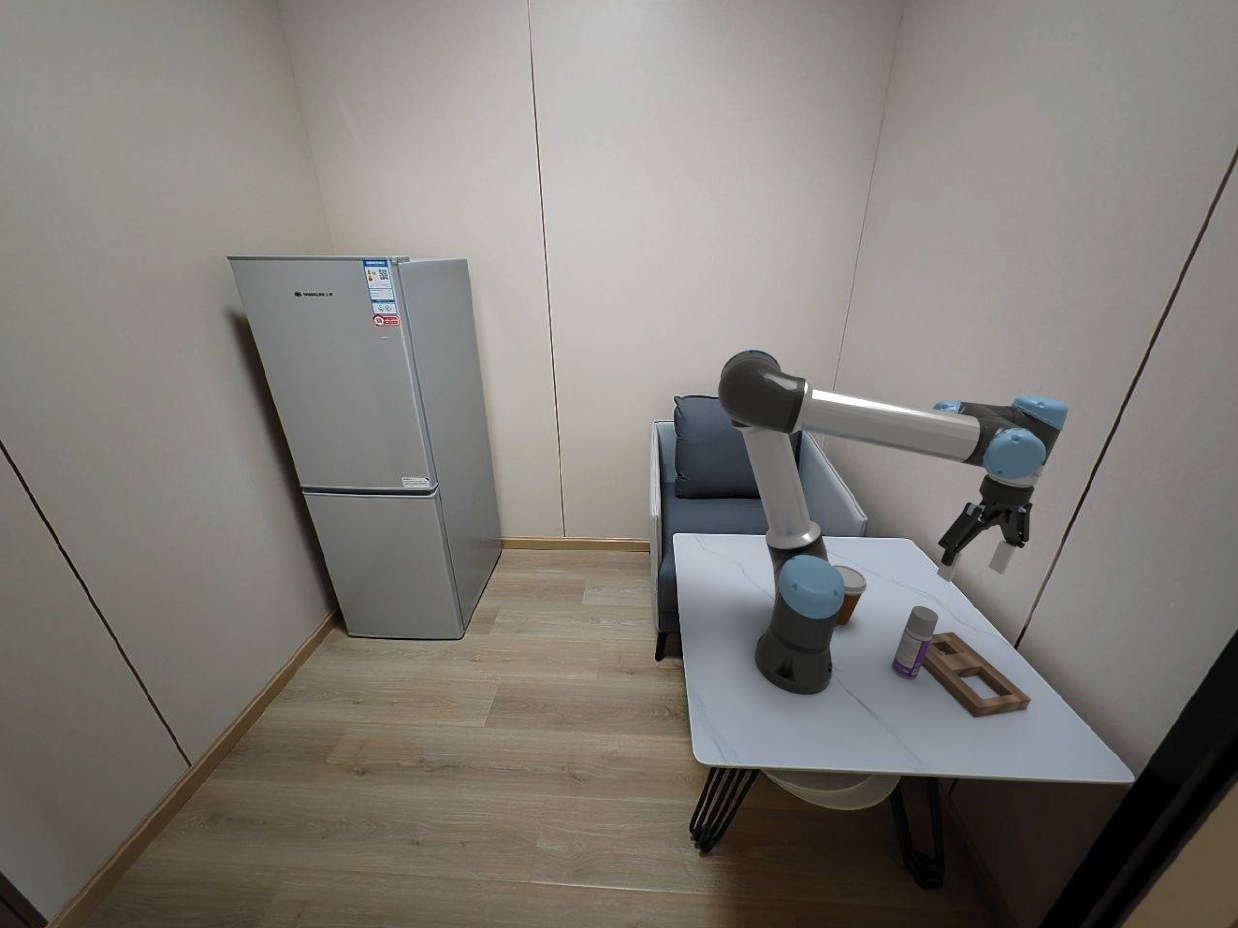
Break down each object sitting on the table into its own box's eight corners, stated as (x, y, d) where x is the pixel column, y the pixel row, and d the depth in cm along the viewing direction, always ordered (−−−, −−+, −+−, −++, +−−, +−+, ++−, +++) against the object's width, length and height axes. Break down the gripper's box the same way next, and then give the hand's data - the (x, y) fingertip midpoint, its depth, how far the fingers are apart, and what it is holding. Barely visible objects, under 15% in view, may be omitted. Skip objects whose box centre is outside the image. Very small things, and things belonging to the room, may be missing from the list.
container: (910, 662, 100) (931, 606, 94) (921, 680, 95) (944, 622, 90) (887, 660, 100) (907, 604, 94) (897, 677, 96) (918, 620, 90)
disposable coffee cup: (813, 624, 110) (824, 582, 105) (812, 599, 118) (822, 559, 113) (857, 635, 107) (870, 593, 102) (853, 609, 115) (865, 569, 110)
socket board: (974, 717, 88) (978, 707, 87) (903, 646, 104) (907, 637, 103) (1026, 708, 90) (1031, 699, 89) (949, 640, 106) (953, 631, 105)
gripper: (976, 493, 80) (937, 593, 89) (1081, 484, 86) (1035, 578, 95) (939, 475, 87) (905, 569, 95) (1039, 468, 93) (999, 557, 101)
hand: (970, 574), depth 95 cm, fingers open, 13 cm apart
